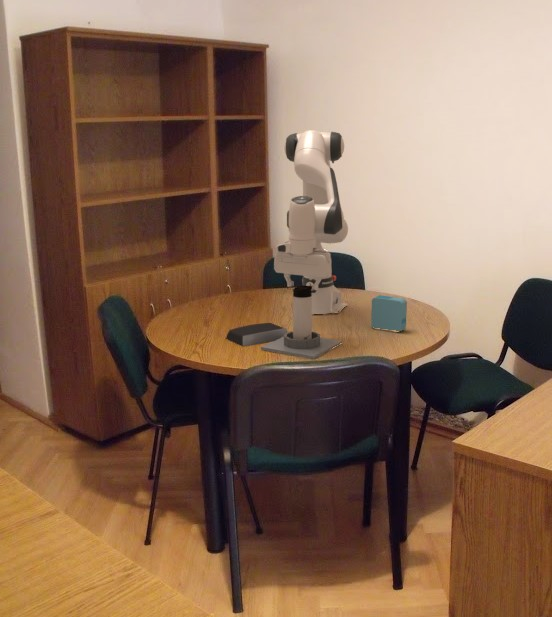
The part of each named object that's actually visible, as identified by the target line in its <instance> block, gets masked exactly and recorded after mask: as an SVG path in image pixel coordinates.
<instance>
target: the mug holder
mask: <svg viewBox="0 0 552 617" xmlns="http://www.w3.org/2000/svg"><path fill="white" fill-rule="evenodd" d="M287 332H288V331H287ZM340 343H342V344H343V341H342V340H338V339H330V338H326V337H321V334H320V333H319V332H316V331H312V339H308V340H296V339H293V330H292V331H289V332H288V333H285V334H284V337H282V338H280V339H277V340H275V341H273V342H268V343H265V344H264V345H262V346H260V350H261V351H266V352H270V353H271V352H272V353H276V354H281V355H282V354H283V355H288V356H294V357H297V358H298V357H299V358H304V359H308V360H309V359H310V360H315V359H317V358H319V357H320V356H323V355H324V354H326V353H328V352H330V351H331V350H330V349H332V348H333V347H335V346H337V345H339V344H340ZM339 346H340V345H339ZM337 347H338V346H337ZM329 350H330V351H329ZM332 350H333V349H332ZM327 351H328V352H327ZM325 352H326V353H325Z"/></svg>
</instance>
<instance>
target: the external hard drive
mask: <svg viewBox="0 0 552 617" xmlns="http://www.w3.org/2000/svg"><path fill="white" fill-rule="evenodd" d="M285 333H288V329H287V328H286V327H282V326H280V325H277V324H276V323H275V324H274V323H272V322H262V323H254V324H249V325H248V324H247V325H243V326H239V327H235V328H232V329H229V330H228V332H227V334H226V337H225V340H227V339H228V340H227V341H230V342H232V341H233V342H232V343H234V342H235V344H236V343H237V344H236V345H238V344H239V345H238V346H241V347H250V346H256V345H262V344H269V343H271V342H273V341H275V340H277V339H280V338H282V337H284V334H285Z"/></svg>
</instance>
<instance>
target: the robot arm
mask: <svg viewBox="0 0 552 617" xmlns="http://www.w3.org/2000/svg"><path fill="white" fill-rule="evenodd" d="M283 146H284V153H285V156H286V159H288V161H290V162H293V166H294V172H295V174H296V176H297V177H299V179H300V180H302V195H299V196H293V197H292V198H290V202H289V210H287V212H286V227H287V228H288V232H289V235H288V241H286V242H284V243H280V244H277V245H276V246H275V251H276V252H275V254H274V258H273V261H274V262H273V270H274V272H275V273H277V274H283V277H284V280H286V281H285V282H286V285H287V288H293V287H294V286H295V285H294V283H295V282H294V281H293V280H292V279H291V276H292V275H295V276H302V279H301V282H302V285H301V286H312V293H311V294H312V297H311V298H312V315H314V314H323V315H326V314H325V313H335V312H338V311H340V310H341V309H342V308H343V307H344V306H346V305H347V306H348V304H347V303H346V302H343V301H342V293H341V291H340V290H339V289H338V288H337V287H336V286H335V285H334V282H335V281H336V280H337V276H336V275H332V273H333V272H332V270H333V269H332V255H331V254H332V253H330V251H329V250H328V249H326V248H323V245H322V243H324V244H338V243H342V242H343V241H344V240H345V239H346V238H347V236H348V232H349V226H348V222H347V221H346V220H345V216H344V211H343V209H342V207H341V206H342V205H341V201H340V194H339V189H338V182H337V177H336V174H335V170H334V169H333V168H332V166H331V163H332V164H334V163H335V162H337V161H339V160H341V158H342V157H343V153H344V151H345V142H344V139H343V136H342V135H341V133H339V132H337V131H336V132H335V131H331V132H329V131H318V130H313V129H309V130H305V131H303V132H301V133H300V132H299V133H297V132H295V133H292V134H289V135H288V136H287V137H286V139H285V142H284V145H283ZM341 302H343V303H341ZM340 312H341V311H340Z"/></svg>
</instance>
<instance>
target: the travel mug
mask: <svg viewBox="0 0 552 617" xmlns="http://www.w3.org/2000/svg"><path fill="white" fill-rule="evenodd" d="M292 293H293V294H292V331H293V339H296V340H308V339H312V332H313V331H312V327H313V324H312V323H313V319H312V318H313V314H312V298H311V297H312V294H311V293H312V286H303V285H301V286H296V287H294V288H293V289H292Z"/></svg>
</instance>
